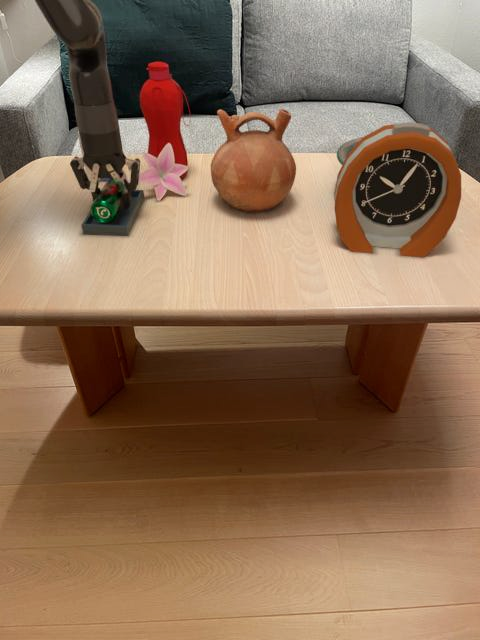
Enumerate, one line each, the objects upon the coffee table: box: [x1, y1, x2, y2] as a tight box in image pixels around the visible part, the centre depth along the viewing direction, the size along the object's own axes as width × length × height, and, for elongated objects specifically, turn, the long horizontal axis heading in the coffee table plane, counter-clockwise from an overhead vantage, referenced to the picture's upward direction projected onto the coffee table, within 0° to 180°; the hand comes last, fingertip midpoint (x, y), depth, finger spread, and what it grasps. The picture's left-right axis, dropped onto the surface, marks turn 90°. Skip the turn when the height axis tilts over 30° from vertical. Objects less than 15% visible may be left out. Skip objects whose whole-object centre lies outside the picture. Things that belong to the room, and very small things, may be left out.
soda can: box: [89, 179, 123, 224], centre depth 97 cm, size 5×5×12 cm
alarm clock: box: [333, 121, 462, 258], centre depth 87 cm, size 22×10×23 cm, turn 82°
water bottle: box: [139, 61, 192, 180], centre depth 108 cm, size 9×11×25 cm
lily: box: [138, 143, 189, 202], centre depth 107 cm, size 12×12×10 cm
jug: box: [210, 108, 297, 214], centre depth 100 cm, size 18×18×20 cm
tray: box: [80, 189, 145, 237], centre depth 100 cm, size 16×9×2 cm, turn 177°
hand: (113, 206), depth 100 cm, fingers open, 5 cm apart
